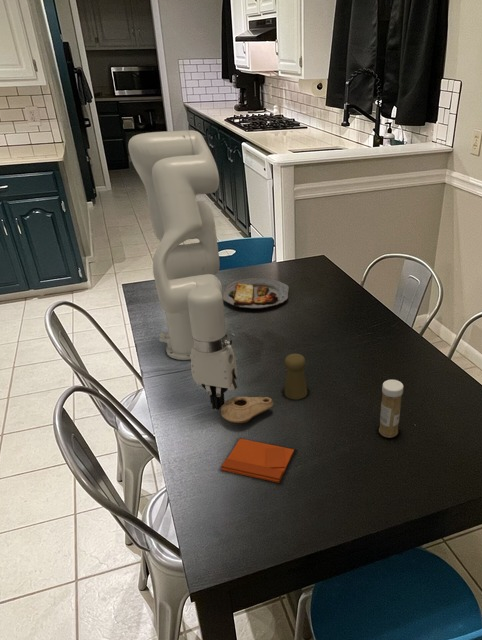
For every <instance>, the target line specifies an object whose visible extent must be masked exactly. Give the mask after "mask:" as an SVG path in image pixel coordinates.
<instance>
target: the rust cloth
mask: <svg viewBox="0 0 482 640" xmlns="http://www.w3.org/2000/svg"><path fill="white" fill-rule="evenodd" d="M294 453H295V449H294V448H289V447H284V446H280V445H274V444H269V443H264V442H259V441H254V440H249V439H244V438H239V439H238V441H237V442H236V444H235V445H234V447H233V449H232V451H231V452H230V454H229V455H228V457H227V458H225V459H224V461H223V463H222V464H221V468H220V469H221V471H222V472H223V471H224V472H228V473H232V474H235V475H236V474H237V475H241V476H246V477H249V478H255V479H259V480H264V481H269V482H273V483H277V484H280V483H281V479H282V478H283V476H284V474H285V472H286V470H287V467H288V466H289V463H290V461H291V459H292V457H293V454H294Z"/></svg>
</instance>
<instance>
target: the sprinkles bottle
mask: <svg viewBox="0 0 482 640" xmlns="http://www.w3.org/2000/svg"><path fill="white" fill-rule="evenodd" d="M381 393H382V396H381V397H382V398H381V404H380V413H379V428H378V433H379V434H380V435H381V436H382V437H384V438H388V439H389V438H391V439H392V438H395V437H396V436H397V435H398V434H399V425H400V424H399V423H400V416H401V415H400V414H401V408H402V407H401V405H402V395H403V394H404V384H403V383H402V381H399V380H398V379H387V380H385V381H384V382H383V383H382V386H381Z"/></svg>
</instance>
